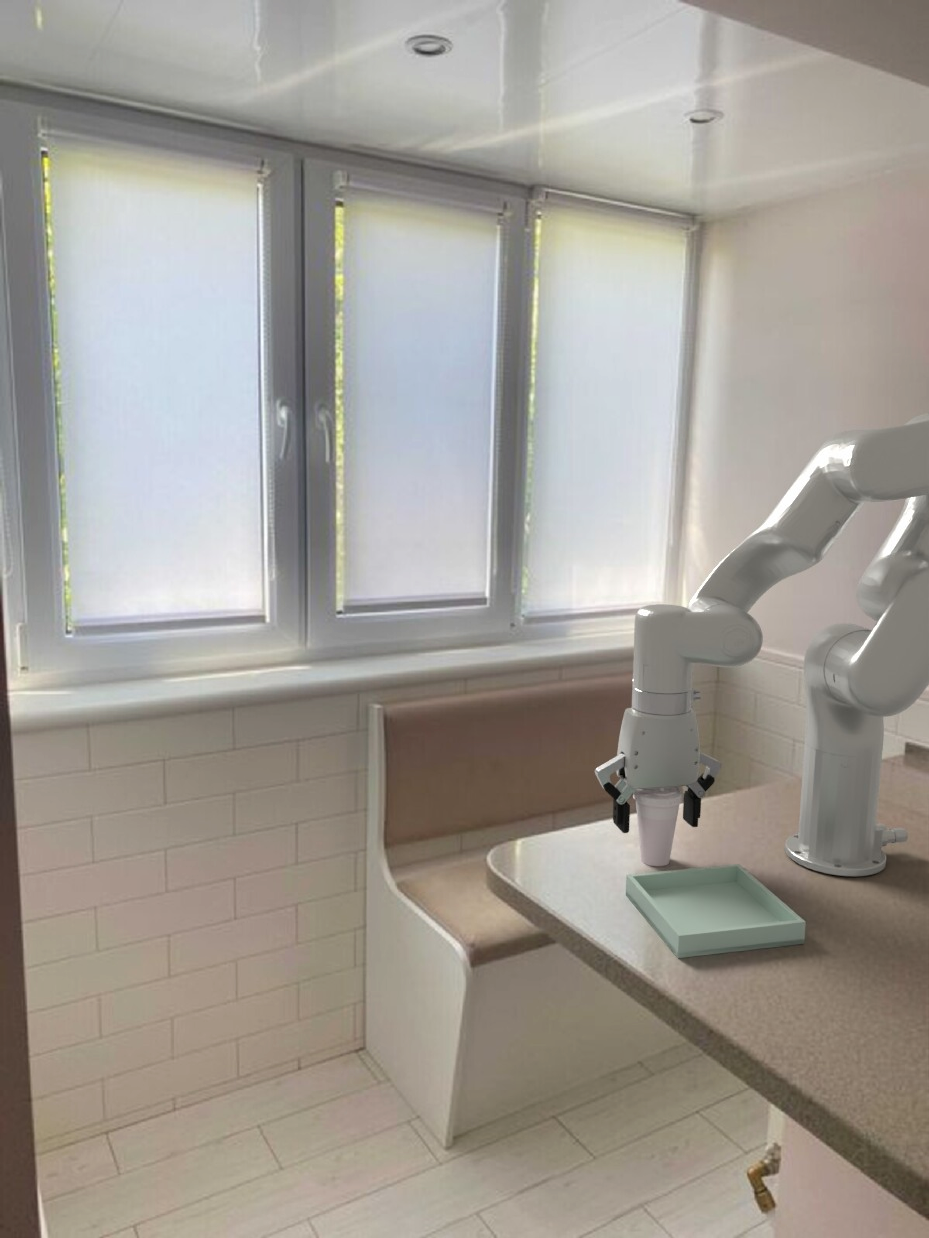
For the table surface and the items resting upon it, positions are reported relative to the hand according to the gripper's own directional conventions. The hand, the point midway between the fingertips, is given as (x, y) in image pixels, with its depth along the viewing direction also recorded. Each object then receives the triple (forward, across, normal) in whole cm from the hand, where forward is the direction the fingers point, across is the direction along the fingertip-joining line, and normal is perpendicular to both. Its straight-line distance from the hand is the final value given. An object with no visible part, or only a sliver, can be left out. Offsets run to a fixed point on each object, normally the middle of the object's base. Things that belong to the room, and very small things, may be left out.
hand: (656, 826), depth 123 cm
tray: (+5, 0, +16) cm, 17 cm away
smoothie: (+5, 0, 0) cm, 5 cm away
